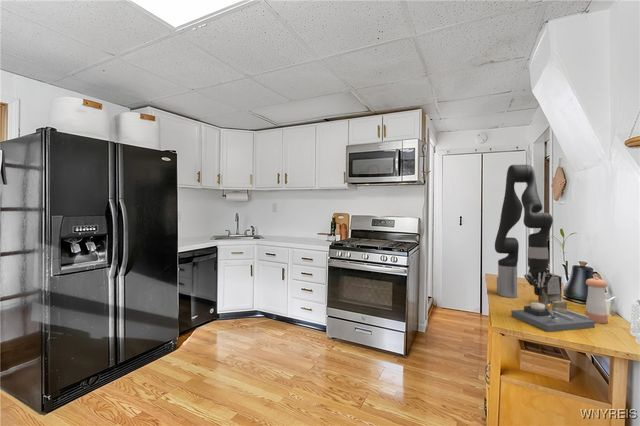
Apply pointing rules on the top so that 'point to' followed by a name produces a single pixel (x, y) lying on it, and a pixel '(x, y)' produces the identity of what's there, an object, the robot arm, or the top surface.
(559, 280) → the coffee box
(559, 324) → the control panel
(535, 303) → the push button
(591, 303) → the pepper shaker
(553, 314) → the toggle lever
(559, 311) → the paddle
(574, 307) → the top surface
